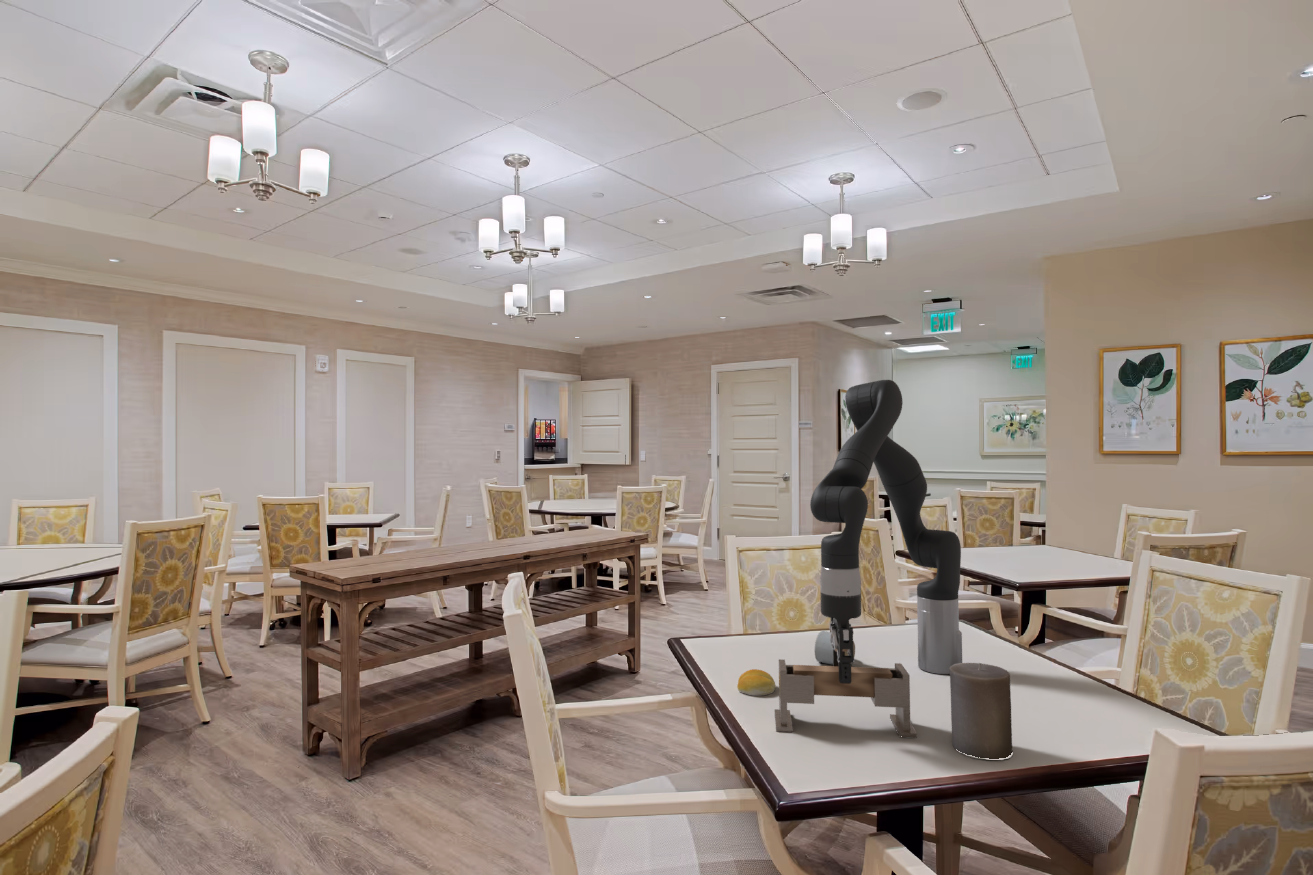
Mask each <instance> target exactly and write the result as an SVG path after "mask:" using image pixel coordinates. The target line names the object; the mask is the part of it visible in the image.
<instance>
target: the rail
mask: <svg viewBox="0 0 1313 875" xmlns="http://www.w3.org/2000/svg"><path fill="white" fill-rule="evenodd" d="M792 665H793V675H813V676H814V696H828V697H833V696H834V697H854V698H871V697H874V677H875V678H892V673H891V671H890V670H889V668H890V667H869V666H868V667H866V666H865V667H864V666H851V683H850V684H842V683H840V682H839V667H838V666H833V665H809V664H808V665H806V664H792Z"/></svg>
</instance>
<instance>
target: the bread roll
mask: <svg viewBox="0 0 1313 875" xmlns="http://www.w3.org/2000/svg"><path fill="white" fill-rule="evenodd" d="M736 687H737V690H738V691H739V693H742V694H744V695H748V696H753V697H754V696H755V697H762V696H767V695H771V694H773V693H774V692H775V690H776V688H777V687H776V681H775V680H774V678H773V677H772V675H771V674H770V673H768V672H766V671H765V670H762V669H757V668H756V669H754V668H753V669H749V670H746V671H745V672H743V673H742V674H741V675H740V676H739V678H738V682H737V686H736Z"/></svg>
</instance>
